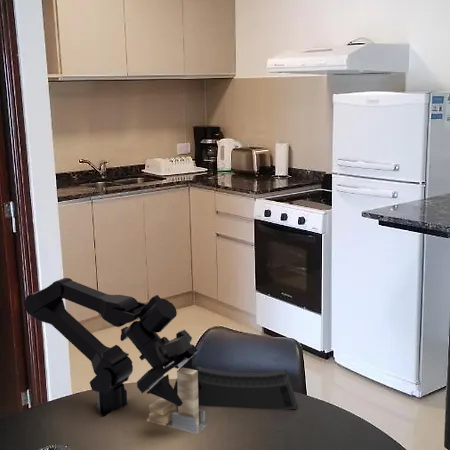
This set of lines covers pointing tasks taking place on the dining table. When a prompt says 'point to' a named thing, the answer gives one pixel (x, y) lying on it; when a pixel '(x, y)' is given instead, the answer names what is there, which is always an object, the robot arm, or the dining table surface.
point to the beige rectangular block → (188, 392)
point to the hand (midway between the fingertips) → (191, 396)
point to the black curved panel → (245, 389)
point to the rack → (189, 422)
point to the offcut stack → (161, 412)
